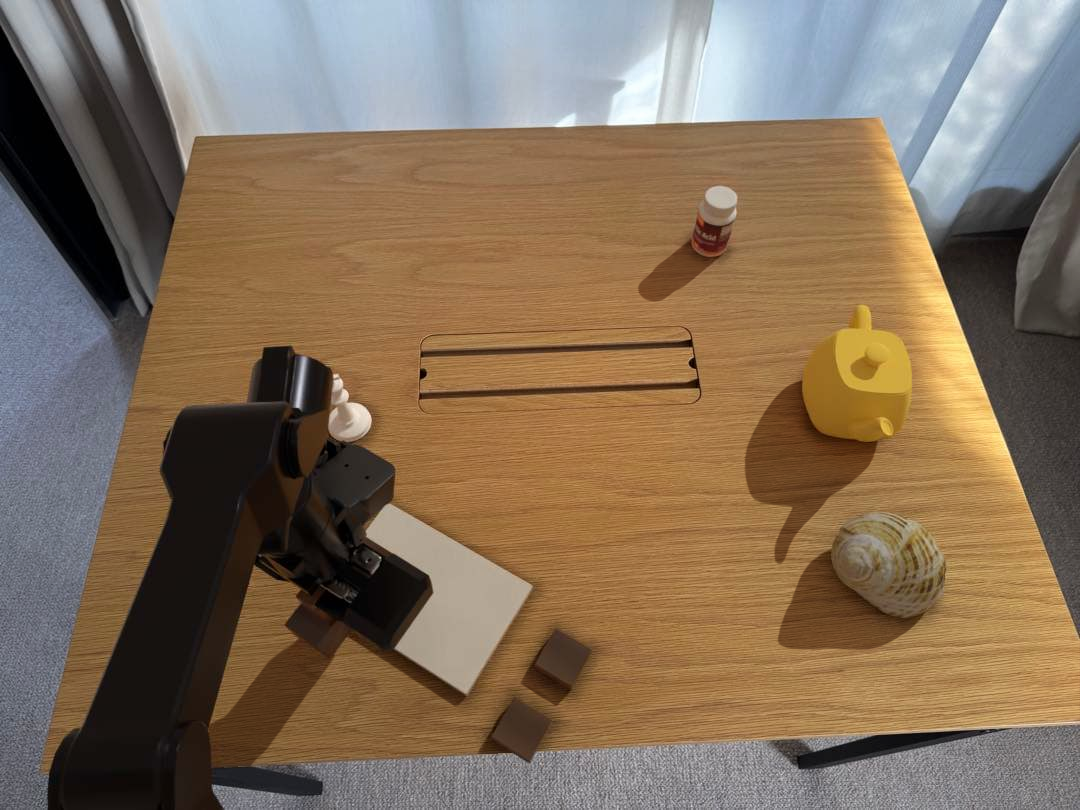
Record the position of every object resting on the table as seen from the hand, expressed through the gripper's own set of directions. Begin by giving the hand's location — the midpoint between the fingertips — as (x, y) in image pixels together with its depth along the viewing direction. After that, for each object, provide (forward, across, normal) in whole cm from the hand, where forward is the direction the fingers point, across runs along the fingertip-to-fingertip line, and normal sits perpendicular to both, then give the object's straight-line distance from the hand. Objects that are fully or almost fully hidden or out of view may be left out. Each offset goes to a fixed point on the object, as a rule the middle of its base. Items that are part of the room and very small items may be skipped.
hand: (340, 589), depth 67 cm
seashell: (+10, -41, -31) cm, 53 cm away
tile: (+10, -4, -5) cm, 12 cm away
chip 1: (+10, -19, 0) cm, 21 cm away
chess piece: (+10, +16, -17) cm, 25 cm away
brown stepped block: (+3, 0, 0) cm, 3 cm away
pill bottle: (+11, -8, -64) cm, 65 cm away
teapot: (+10, -32, -48) cm, 58 cm away
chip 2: (+10, -19, -7) cm, 22 cm away
